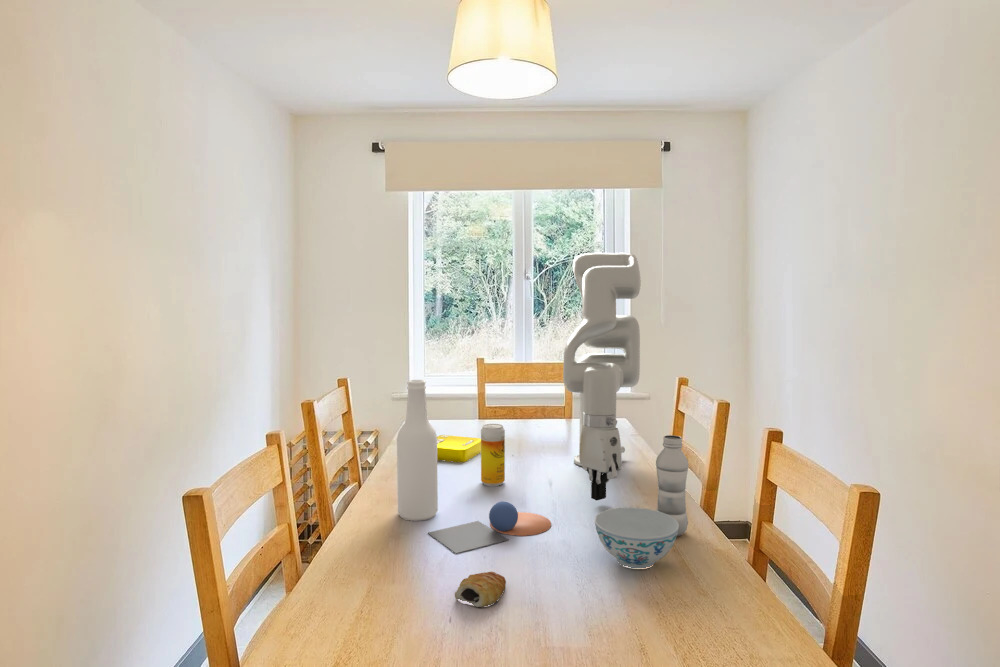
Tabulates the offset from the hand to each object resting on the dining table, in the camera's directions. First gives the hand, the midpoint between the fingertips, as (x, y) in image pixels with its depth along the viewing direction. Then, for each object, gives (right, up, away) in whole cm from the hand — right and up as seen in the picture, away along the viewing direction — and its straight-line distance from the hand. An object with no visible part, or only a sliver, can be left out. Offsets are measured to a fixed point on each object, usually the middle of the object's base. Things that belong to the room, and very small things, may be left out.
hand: (598, 498), depth 147 cm
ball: (-22, 0, -16) cm, 27 cm away
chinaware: (+2, -4, -31) cm, 31 cm away
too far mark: (-29, -3, -19) cm, 35 cm away
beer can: (-25, -1, +16) cm, 30 cm away
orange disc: (-19, -2, -12) cm, 22 cm away
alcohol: (-41, -2, -6) cm, 42 cm away
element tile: (-38, +1, +45) cm, 59 cm away
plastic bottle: (+12, -3, -17) cm, 21 cm away
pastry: (-26, -5, -43) cm, 51 cm away
